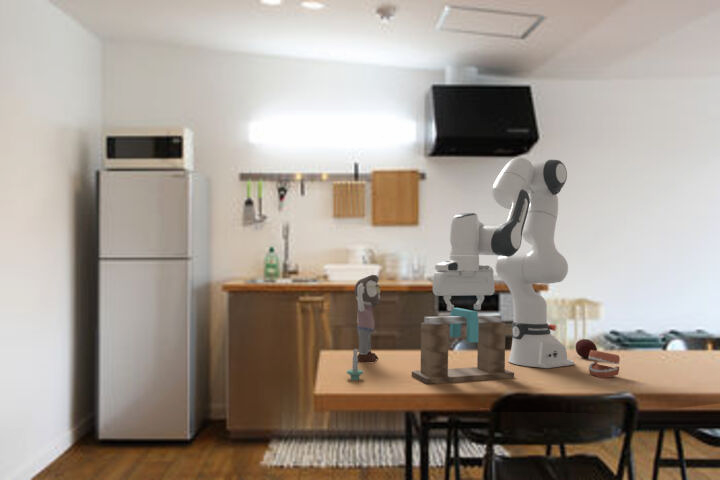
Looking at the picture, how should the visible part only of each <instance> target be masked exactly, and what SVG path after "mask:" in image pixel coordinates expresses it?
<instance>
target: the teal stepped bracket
mask: <svg viewBox="0 0 720 480" xmlns="http://www.w3.org/2000/svg"><path fill="white" fill-rule="evenodd" d="M478 313H479V312H478V311H477V310H470V309H465V308H460V307H454V310H453V311H450V314H449V316H461V317H465V318H467V323H466V343H478V327H479V318H478V316H479V314H478ZM449 337H450V338H461V337H462V323H459V324H449Z"/></svg>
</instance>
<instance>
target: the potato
mask: <svg viewBox="0 0 720 480" xmlns="http://www.w3.org/2000/svg"><path fill="white" fill-rule="evenodd" d="M574 347H575V351H576V353H577V355H578V356H579V357H581V358H583V359H589V358H588V357H589V353H590V350H595V351H598V347H597V345H596V344H595V342H593V341H592V340H590V339H589V338H585V339H584V338H583V339H580V340H578V341H577V342H576V343H575V346H574Z"/></svg>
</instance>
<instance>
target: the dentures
mask: <svg viewBox="0 0 720 480" xmlns="http://www.w3.org/2000/svg"><path fill="white" fill-rule="evenodd" d="M587 359H588V360H592V361H593V362H590V364H588V373H589V375H590V376H593V377H598V378H611V377H615V376H618V375H619V373H620V366H617V365H619V364H620V359H621V358H620V355H618V354H614V353H609V352H604V351H600V350H597V351H595V350H590V353H589V357H588V358H587ZM597 361H599V362H603V363H608V364H612V365H614V364H615V365H616V366H614V367H613V366H607V365H603V364H599V363H598V362H597Z"/></svg>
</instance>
